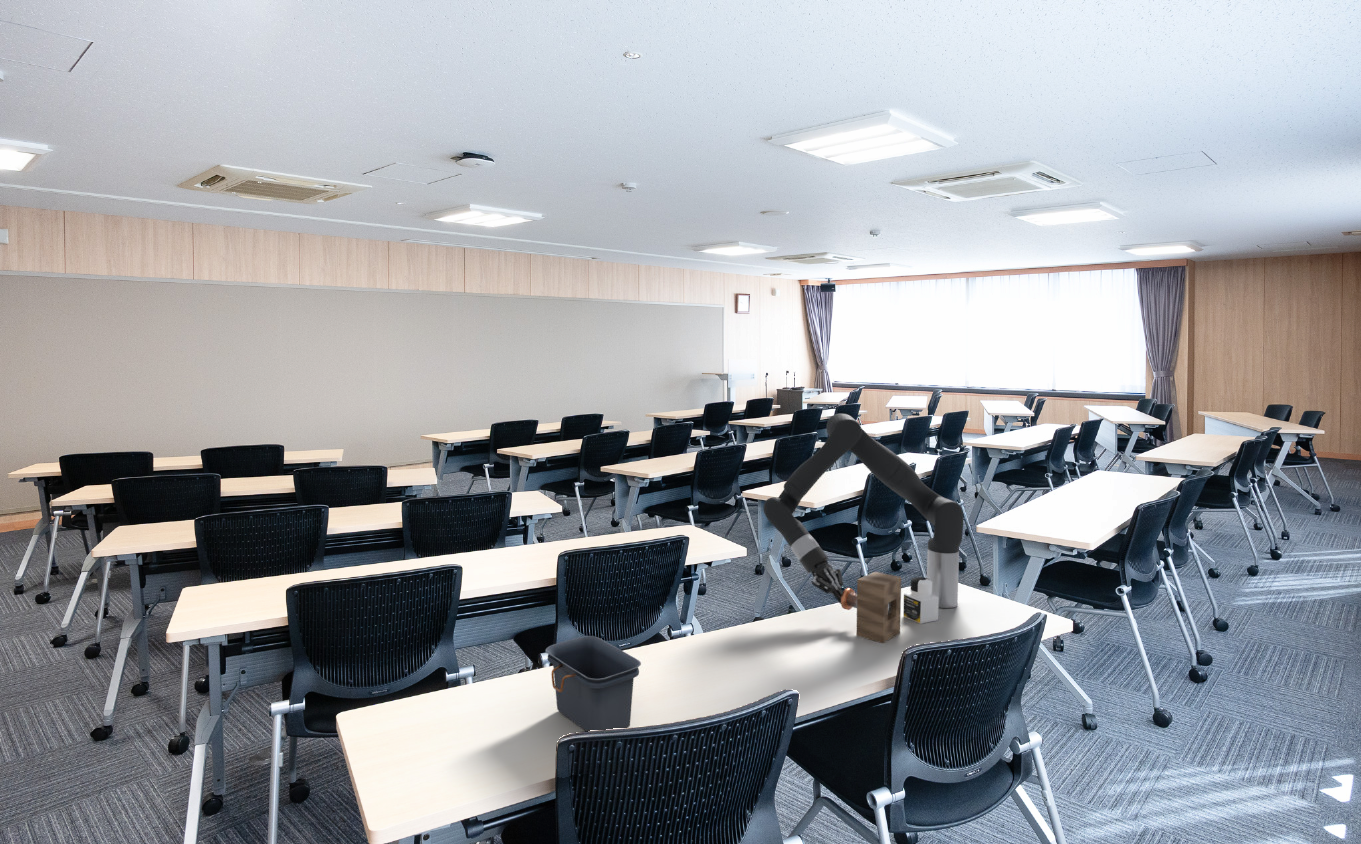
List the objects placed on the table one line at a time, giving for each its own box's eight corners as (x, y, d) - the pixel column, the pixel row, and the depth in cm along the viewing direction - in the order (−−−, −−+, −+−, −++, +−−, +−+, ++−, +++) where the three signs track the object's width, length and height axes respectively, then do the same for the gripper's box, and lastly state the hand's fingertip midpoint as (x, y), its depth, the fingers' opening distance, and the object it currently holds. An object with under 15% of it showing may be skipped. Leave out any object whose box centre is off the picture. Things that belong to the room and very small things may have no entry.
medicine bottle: (902, 616, 222) (903, 577, 221) (921, 613, 225) (922, 574, 224) (919, 624, 216) (920, 583, 215) (938, 620, 219) (939, 580, 218)
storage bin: (648, 728, 156) (648, 662, 154) (585, 753, 146) (584, 683, 145) (592, 693, 172) (591, 633, 171) (532, 714, 162) (531, 650, 161)
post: (874, 626, 214) (875, 571, 213) (900, 633, 209) (901, 577, 208) (856, 635, 207) (857, 579, 206) (882, 643, 202) (883, 585, 200)
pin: (851, 606, 217) (851, 585, 216) (893, 616, 208) (893, 595, 207) (840, 611, 212) (841, 590, 212) (883, 622, 203) (883, 600, 203)
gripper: (804, 550, 215) (840, 600, 208) (828, 541, 225) (864, 589, 218) (788, 564, 219) (824, 614, 212) (813, 555, 229) (848, 603, 222)
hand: (844, 602), depth 215 cm, fingers closed
